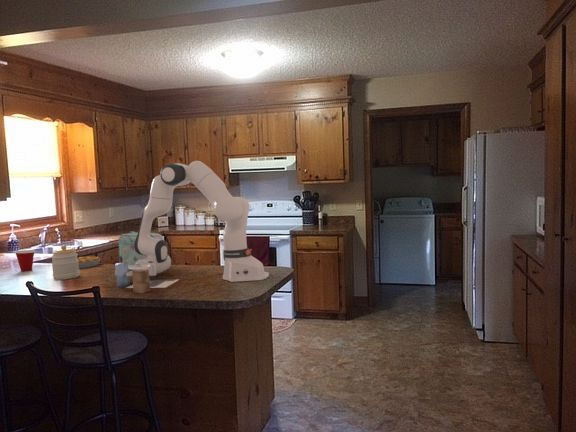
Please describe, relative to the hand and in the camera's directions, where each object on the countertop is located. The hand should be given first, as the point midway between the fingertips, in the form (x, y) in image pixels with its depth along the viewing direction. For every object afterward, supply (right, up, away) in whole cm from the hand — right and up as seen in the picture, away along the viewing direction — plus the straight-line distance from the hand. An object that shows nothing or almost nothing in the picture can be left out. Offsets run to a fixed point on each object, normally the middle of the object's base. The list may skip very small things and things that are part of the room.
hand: (120, 274), depth 220 cm
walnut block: (+14, -7, -12) cm, 19 cm away
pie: (-48, -4, +67) cm, 82 cm away
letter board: (+14, -5, +3) cm, 16 cm away
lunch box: (-4, -3, +44) cm, 44 cm away
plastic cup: (-77, -6, +60) cm, 98 cm away
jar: (-40, -6, +32) cm, 52 cm away
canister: (+1, -6, +1) cm, 6 cm away
